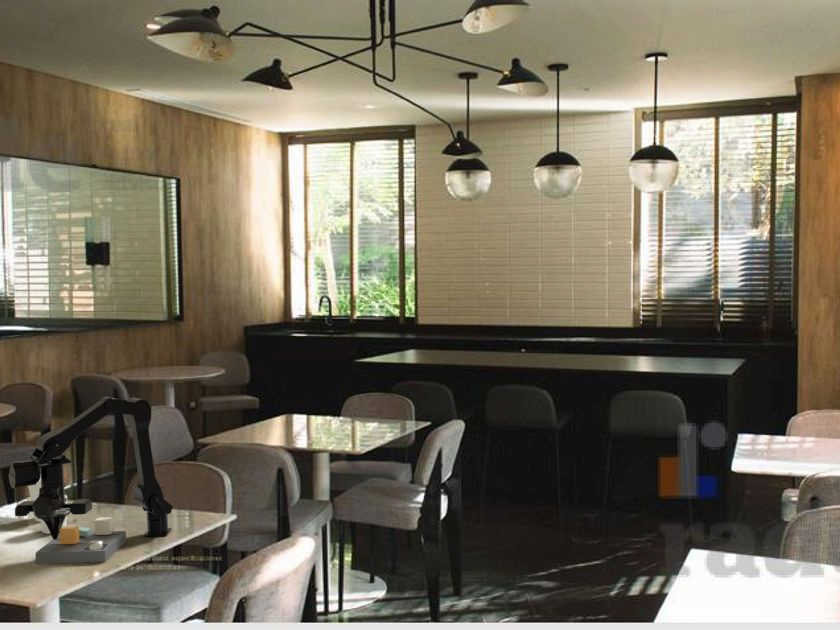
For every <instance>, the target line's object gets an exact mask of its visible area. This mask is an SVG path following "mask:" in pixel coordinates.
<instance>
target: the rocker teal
mask: <svg viewBox="0 0 840 630" xmlns="http://www.w3.org/2000/svg"><path fill="white" fill-rule="evenodd" d="M67 526H76V525H73V524H67ZM78 526H79V525H78ZM90 532H91V527H84V526H79V536H84V537H86V536H88V535H89V534H90Z"/></svg>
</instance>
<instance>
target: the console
mask: <svg viewBox="0 0 840 630" xmlns="http://www.w3.org/2000/svg"><path fill="white" fill-rule="evenodd" d="M94 540H102V541H103V550H89V542H90V541H94ZM126 543H127V531H126V530H113V532H112V533H111V534H110V535H95V531H90V534H89V535H88V536H86V537H84V536H79V541H78V542H77V543H76V544H60V533H59V536H58V538H57V539H56V540H53V539H51V540H50V541H49V542H48V543H46V544H45V545H44V546H42V547H41V548H39V550H37V551H36V552H35V564H36V565H46V564H48V565H49V564H50V565H52V564H53V565H55V564H83V563H85V564H87V563H86V562H90V563H106V562H107V561H108V560H109V559H110V558H111V557H112V556H113V555H114V554H115V553H117V551H119V549H120V548H121V547H122V546H123V545H124V544H126ZM121 545H122V546H121ZM120 546H121V547H120ZM119 547H120V548H119ZM118 548H119V549H118ZM116 550H117V551H116ZM113 553H114V554H113Z"/></svg>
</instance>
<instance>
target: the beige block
mask: <svg viewBox="0 0 840 630" xmlns="http://www.w3.org/2000/svg"><path fill="white" fill-rule="evenodd" d="M113 531H114V517H112V516H110V517H109V516H108V517H107V516H106V517H103V516H102V517H97V518H96V519H95V520H94V532H95V535H110V534H111V533H112V532H113Z"/></svg>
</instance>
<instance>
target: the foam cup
mask: <svg viewBox="0 0 840 630" xmlns="http://www.w3.org/2000/svg"><path fill="white" fill-rule="evenodd" d="M27 488H28V492H29V498H30V501H35V500H36V499H37V498H38V496H39V488H41V473H40V480H39V482H37V483H36V485H31V486H27ZM32 514H33V518H34V521H36V522H41V521H40V519H38V518H37V517H36V516H35V515H34V512H32Z"/></svg>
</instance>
